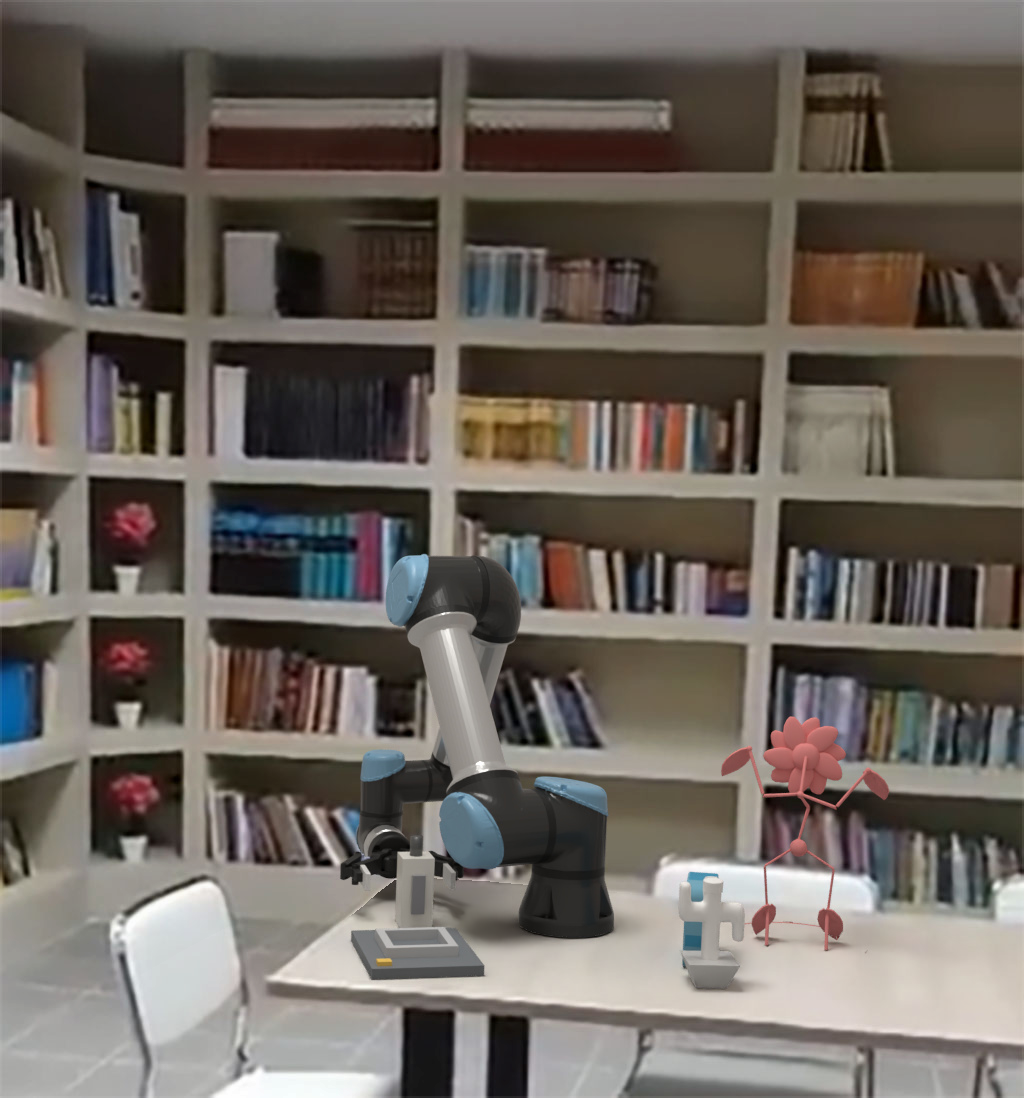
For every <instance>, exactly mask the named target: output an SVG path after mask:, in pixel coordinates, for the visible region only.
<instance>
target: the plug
mask: <svg viewBox="0 0 1024 1098" xmlns="http://www.w3.org/2000/svg"><path fill="white" fill-rule="evenodd" d="M409 842H410V852H398V854H397V878H396V883H395V884H396V885H395V908H394V909H395V911H394V912H395V913H394V922H395V924H396V925H397V927H398V928H421V927H433V920H434V919H433V915H434V913H433V912H434V893H435V892H434V891H435V890H434V889H435V887H434V886H435V876H434V867H435V858H434V857H433V856H432V855H431V854H430V852H428V851H423V850H424V847H423V845H424V835H421V834H411V835H410V839H409Z"/></svg>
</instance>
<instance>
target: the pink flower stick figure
mask: <svg viewBox="0 0 1024 1098" xmlns="http://www.w3.org/2000/svg"><path fill="white" fill-rule="evenodd" d="M838 735H839V731H838V728H836V727H835V726H830V725H824V726H821V721H820V719H819V718H818V717H815V716H814V717H810V718H808V719H807V720H805V721H804V722H803V723H802V724H801V722H800V721H799V719H797V718H796V717H795V716H789V717H788V718H787V719H786V721H785V723H784V725H783V731H780V730H777V729H775V730H773V731H772V732H771V734H770V740H771V741H770V742H771V745H772V746H773V748H771V749H768V750H766V751H764V753H763V759H764V761H765V762H766V763H767V764H769V765H770V766H771V767H773V770H771V774H770V779H771V781H773V782H775V783H780V784H781V783H782V784H784V783H785V784H786V783H788V784H787V789H788V791H789V792H786V793H785V792H784V793H783V792H781V793H765V791H764V787H763V784H762V780H761V777H760V774H759V771H758V768H757V764H756V761H755V758H754V755H753V746H751V745H747V746H746V747H741V748H739V749H738V750H736V751H734V752H732V753H731V754H729V756H727V757H726V758H725V759H724V761H723V763H722V764H721V771H720V773H721V777H724V776H728V775H729V774H732V773H734V772H737V771H738V770H740V769H742V768H743V767H744V766H746V764H748V762H749V761H751V766H752V768H753V771H754V774H755V778H756V781H757V785H758V787H759V791H760V794H761V795H762V798H776V797H778V798H779V797H780V798H783V797H797V798H798V799H800V800H801V801H802V803H803V805H804V806H805V807H806V808H805V813H804V816H803V819H802V823H801V826H800V829H799V834H798V837H797V838H796V839H794V840H792V841H791V843H790V845H789V849H787V850H786V851H784V852H783V853H781V854H779V855H778V856H776V857H775V858H773V859H772V860H770V861H768V862H767V863H765V864H764V866H763V881H764V898H765V899H764V901H765V904H764V905H762V906H761V907H760V908H759V909H758V910H757V911H756V912H755V913H754V915H753V917H752V918H751V922H746V923H745V922H744V925H750V924H751V927H752V931H753V932H754V934H755V935H756V936H757V935H758V934H760V933H761V932H763V931H764V932H765V933H764V946H769V939H770V938H769V937H770V936H769V934H770V932H769V931H770V925H771V924H782V923H783V924H794V925H802V926H803V925H804V926H811V927H817V928H820V929H821V930H822V932H824V948H823V950H824V951H825V952H826V951H829V937H830V938H832V939H834V940H836V941H838V939H840V936H841V935H842V933H843V932H844V922H843V920H842V919H843V918H842V917H841V916H840V915H839V914H838V913H837V912H836V911H835V909H834V910H833V909H832V908H830V907H831V901H832V895H833V894H832V892H833V887H834V878H835V871H836V870H835V867H834V866H832V865H831V864H829V863H828V862H826V861H825V860H823V859H822V858H821V857H819V856H817V855H816V854H815V853H813V852H811V851H810V850H808V845H807V843H806V842H805V840H803V839H801V838H802V835H803V832H804V829H805V826H806V823H807V819H808V818H809V817H808V816H809V813H810V811H811V805H810V804H809V803H808V802H807V801H806V799H807V800H810V801H812V802H815V803H817V804H821V805H823V806H826V807H829V808H831V809H834V810H836V811H837V808H839V807H840V806H841V805H842V804H843V803H844V802H845V800H846V799H847V798H848V797H849V796H850V795H851V793H852V792H853V791H854V790H855V789H856V788H857V787H858V786H859V785H860V783H862V781H864V784H865V785H866V787H867V788H868V789H869V790H870V791H871V792H873V794H875V795H876V796H878V797H879V798H880V799H882V800H883V801H885V800H886V799H887V798H888V796H889V793H890V788H889V785H888V784H887V781H886V780H885V779H884V778H883V777H882V776H881V775H880V774H879V773H878V772H876V771H875V770H872V769H871V767H866V768H865V769H864V770H863V771H862V775H861V776H860V777H859V778H858V779H857V780H856V782H855V783H854V784H853V785H851V787H850V788H849V789H848V791H846V793H845V794H844V795H843V796H842V797H841V798H840V800H839V801H838V802H837V803H836V804H835V805H834V804H833V803H829V802H827V801H824V800H821V799H818V798H816V797H814V796H811V795H808V794H805V793H804V792H805V791H807V789H810V791H811V792H812V793H813V794H816V795H822V794H823V793H824V791H825V788H826V786H827V782H828V781H827V780H831V781H834V782H835V781H840V780H841V779H842V778H843V771H842V767H841V765H840V763H839V761H841V760H844V759H845V758H846V755H847V752H846V751H845V750H844V749H843V747H842V746H840V745H839V744H836V743H835V741H836V739H837V738H838ZM788 853H790V854H791V855H792V856H794V857H797V858H799V857H803V856H805V855H806V854H809V856H812V857H813V858H814V859H817V860H818V861H819V862H821V863H822V864H824V865H825V866H827V867H829V868H830V869H832V870H831V877H830V885H829V892H828V898H827V899H828V900H827V905H826V906H827V907H826V909H825V907H823V908H821V909H820V910H819V911H818V914H817V918H816V919H817V922H818V925H815V924H809V923H801V922H799V923H798V922H793V921H785V920H783V921H774V920H775V918H776V915H777V907H776V905H774V904H773V903H769V899H768V879H767V866H769V865H771V864H772V863H773V862H775V861H777V860H778V859H780V858H782V857H783V856H785V855H787V854H788ZM867 952H868V950H866V951H865V952H864V953H865V954H866V953H867Z"/></svg>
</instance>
